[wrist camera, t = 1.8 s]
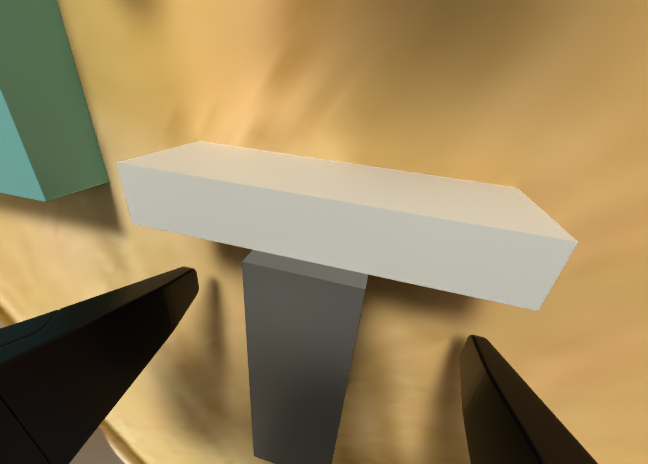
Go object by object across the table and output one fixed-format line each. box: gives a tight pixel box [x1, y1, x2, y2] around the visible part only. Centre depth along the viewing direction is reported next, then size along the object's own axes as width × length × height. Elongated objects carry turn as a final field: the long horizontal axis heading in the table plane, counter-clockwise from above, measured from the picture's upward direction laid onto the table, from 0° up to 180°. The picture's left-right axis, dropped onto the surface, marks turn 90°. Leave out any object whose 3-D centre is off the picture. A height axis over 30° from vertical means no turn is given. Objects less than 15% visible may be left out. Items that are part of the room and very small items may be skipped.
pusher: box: [116, 141, 578, 464], centre depth 9 cm, size 10×9×4 cm
